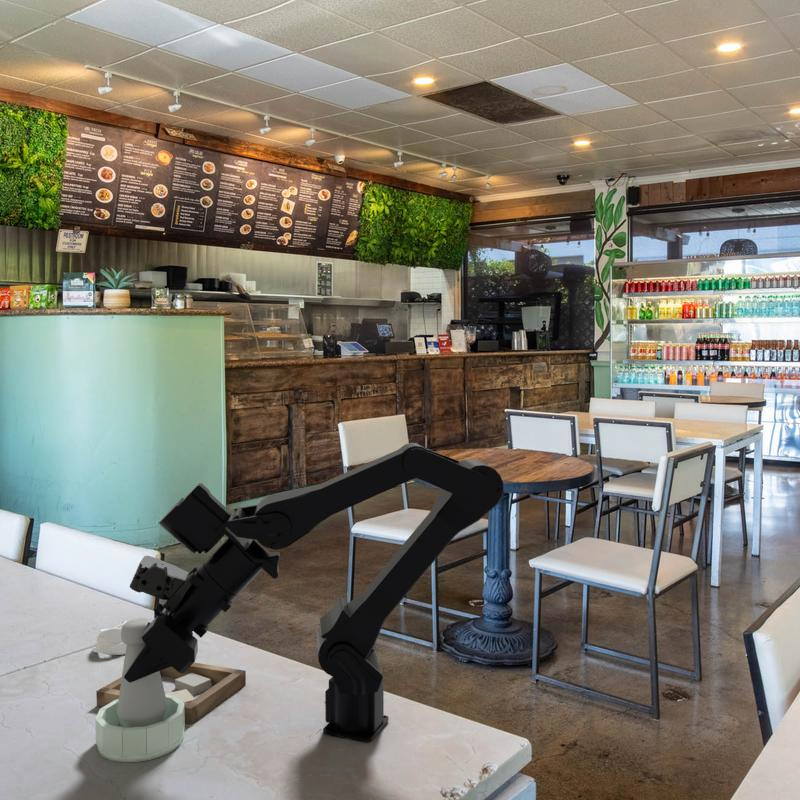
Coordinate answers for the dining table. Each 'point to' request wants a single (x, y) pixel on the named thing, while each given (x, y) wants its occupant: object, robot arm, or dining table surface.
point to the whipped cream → (110, 641)
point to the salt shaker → (139, 683)
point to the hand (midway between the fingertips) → (129, 673)
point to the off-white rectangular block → (193, 683)
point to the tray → (225, 687)
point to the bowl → (139, 734)
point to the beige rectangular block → (182, 695)
